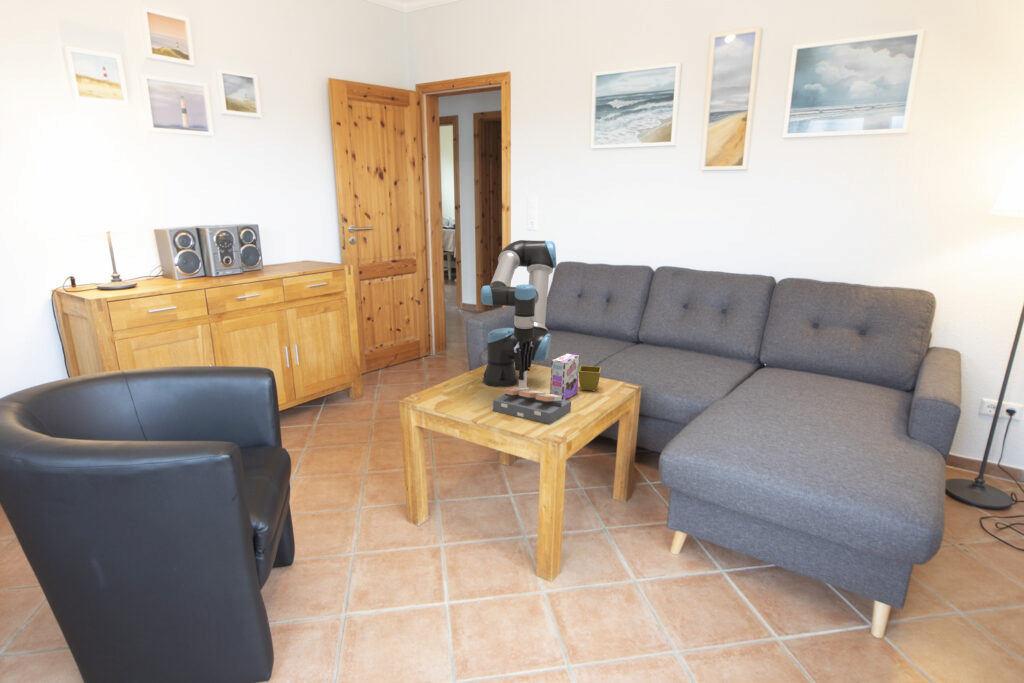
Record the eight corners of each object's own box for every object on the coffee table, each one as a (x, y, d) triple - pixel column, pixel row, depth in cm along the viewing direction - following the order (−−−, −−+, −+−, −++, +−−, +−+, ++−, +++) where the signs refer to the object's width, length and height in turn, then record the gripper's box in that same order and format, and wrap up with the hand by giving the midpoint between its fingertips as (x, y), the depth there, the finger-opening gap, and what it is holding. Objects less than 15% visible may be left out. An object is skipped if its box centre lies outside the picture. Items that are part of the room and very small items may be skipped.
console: (492, 410, 207) (492, 396, 205) (515, 399, 220) (516, 385, 219) (549, 424, 194) (550, 409, 193) (570, 411, 207) (571, 397, 206)
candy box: (562, 402, 217) (564, 362, 213) (549, 400, 220) (550, 359, 216) (578, 393, 228) (579, 354, 225) (565, 391, 231) (566, 352, 228)
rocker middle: (518, 395, 202) (519, 390, 202) (534, 394, 212) (535, 390, 212) (529, 397, 199) (529, 393, 199) (544, 397, 210) (545, 392, 210)
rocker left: (502, 393, 205) (503, 388, 205) (519, 390, 216) (519, 386, 215) (512, 395, 203) (513, 390, 203) (529, 392, 213) (529, 388, 213)
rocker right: (535, 399, 198) (536, 394, 198) (550, 398, 208) (551, 394, 208) (546, 401, 196) (547, 396, 196) (561, 400, 206) (562, 396, 206)
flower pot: (598, 393, 229) (600, 372, 227) (577, 391, 231) (578, 370, 229) (599, 387, 238) (601, 366, 236) (579, 385, 240) (580, 365, 238)
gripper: (523, 330, 200) (522, 393, 206) (541, 325, 211) (539, 385, 216) (506, 328, 204) (505, 389, 209) (524, 322, 215) (523, 381, 220)
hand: (522, 387), depth 213 cm, fingers closed
